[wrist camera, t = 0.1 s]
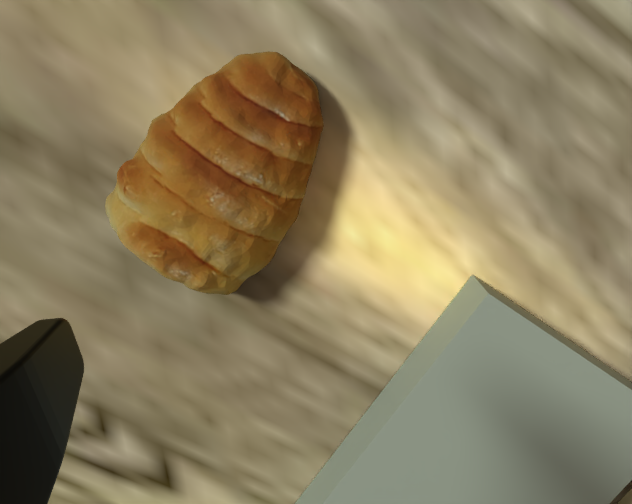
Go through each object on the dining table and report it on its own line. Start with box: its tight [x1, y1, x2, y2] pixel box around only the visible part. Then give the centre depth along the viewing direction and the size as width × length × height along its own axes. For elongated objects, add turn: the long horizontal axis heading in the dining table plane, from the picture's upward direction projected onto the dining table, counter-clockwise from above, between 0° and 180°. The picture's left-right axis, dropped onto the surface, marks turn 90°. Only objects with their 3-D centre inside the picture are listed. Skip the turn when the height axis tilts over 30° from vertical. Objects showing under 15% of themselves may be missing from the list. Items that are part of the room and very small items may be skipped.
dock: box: [295, 275, 632, 504], centre depth 27 cm, size 17×10×2 cm, turn 146°
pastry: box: [105, 52, 324, 295], centre depth 23 cm, size 9×7×4 cm
